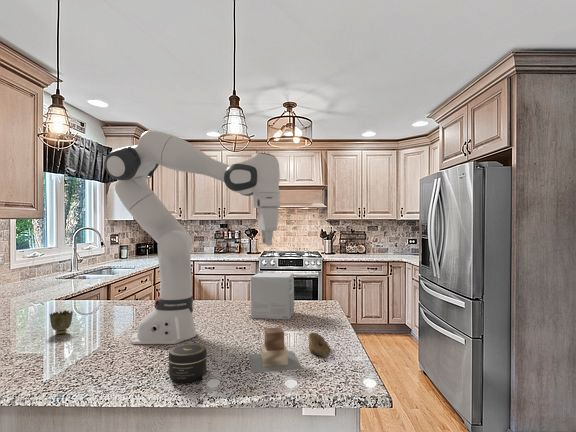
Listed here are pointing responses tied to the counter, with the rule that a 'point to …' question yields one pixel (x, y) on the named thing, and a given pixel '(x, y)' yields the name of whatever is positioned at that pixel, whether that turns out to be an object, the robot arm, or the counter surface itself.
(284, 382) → the counter surface
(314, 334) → the fossil
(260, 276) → the supplement box
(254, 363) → the build plate
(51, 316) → the cup
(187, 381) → the jar
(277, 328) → the walnut cube
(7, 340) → the counter surface
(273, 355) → the maple base
